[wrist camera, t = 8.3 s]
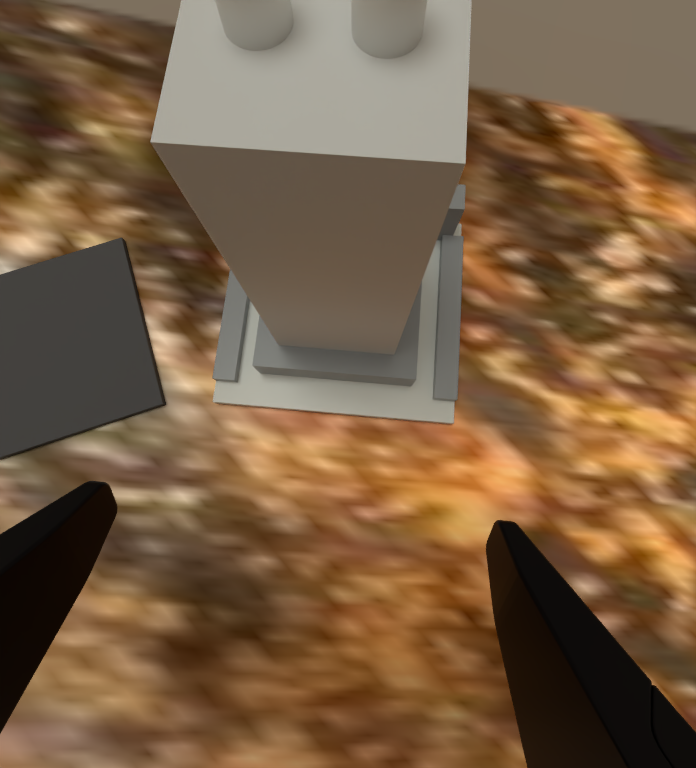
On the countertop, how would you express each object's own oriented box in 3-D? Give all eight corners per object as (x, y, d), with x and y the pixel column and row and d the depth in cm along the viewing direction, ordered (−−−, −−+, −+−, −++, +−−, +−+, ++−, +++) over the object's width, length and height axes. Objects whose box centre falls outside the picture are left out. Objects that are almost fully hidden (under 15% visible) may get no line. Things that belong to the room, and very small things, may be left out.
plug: (411, 386, 18) (588, 148, 4) (260, 373, 18) (-13, 107, 5) (419, 247, 20) (574, -261, 6) (279, 237, 20) (111, -276, 6)
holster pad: (165, 404, 19) (162, 403, 18) (-25, 467, 18) (-31, 467, 18) (125, 240, 20) (121, 237, 20) (-50, 294, 20) (-56, 292, 20)
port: (450, 424, 18) (472, 415, 15) (216, 403, 19) (186, 390, 15) (458, 226, 20) (479, 179, 17) (247, 210, 21) (226, 162, 17)
